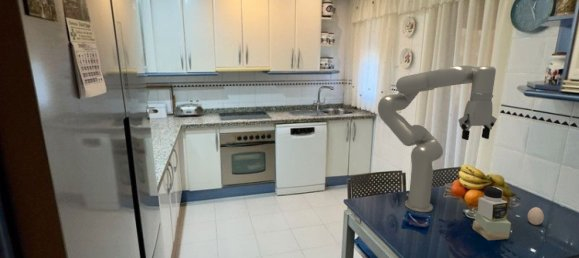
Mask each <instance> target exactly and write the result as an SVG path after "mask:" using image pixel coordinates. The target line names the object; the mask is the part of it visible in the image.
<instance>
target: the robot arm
mask: <svg viewBox="0 0 579 258" xmlns="http://www.w3.org/2000/svg"><path fill="white" fill-rule="evenodd" d="M496 74H497V70H496V67H494V66H481V65H480V66H473V65H472V66H471V65H454V66H448V67H444V68H439V69H435V70H428V71H423V72H420V73H418V72H417V73H414V74H408V75H405V76H401V77H400V78H398V79H397V81H396V83H395V87H396V90H397V91H398V93H397V94H388V95H385V96H383V97H382V98H381V99H380V100H379V102H378V105H377V113H378V115H379V117H380V119H381V121H383V123H384V124H385V125H386V126H387V127H388V128H389V129H390V131H391V132H392V133H393V134H394V135H395V136H396V138H397V139H398V140H399V141H400V142H401V143H402V144H403V146H405V147H411V146H415V147H414V148H412V150H411V152H410V160H411V173H410V183H409V191H408V193H406V194H405V196H406V197H407V200H405V202H404V206H405V207H406V208H408V209H409V210H411V211H414V212H418V213H428V212H431V211H433V209H434V205H432V204H431V195H432V185H433V176H434V168H433V162H434V161H437V160H440V158H441V157H442V156H443V154H444V148H443V146H442V145H441V143H440V142H439V141H438V140H437V139H436V138H435V137H434V136H433V134H432V133H431V132H430V131H429V130H428V129H427V128H425V126H423V125H420V124H412V125H411V124H410V123H409V122H408V121H407V119H406V118H405V117H404V116H402V115H401V114H400V113H398V112H399V111H402V110H403V111H404V110H406V108H407V107H409V106H410V104H411V103H412V102H413V101H414V99H415V98H416V97H417V96H418V95H419V93H420V92H428V91H433V90H435V89H438V88H443V87H449V86H456V85H466V84H471V89H470V95H469V96H470V97H469V100H467V103H466V105H465V108H464V112H463V116H462V117H461V118H459V119H458V123H459V127H460V128H461V130H462V133H461V139H462V140H465V141H469V139H470V129H471V128H472V127H477V126H479V127H480V126H482V127H483V128H482V131H481V138H482V139H486V140H489V139H490V136H491V135H490V134H491V130H492V129H493V127H494V126H495V123H496V122H497V119H498V118H496V117H494V116H493V107H494V106H493V101H492V99H493V98H494V95H493V93H494V87H495V80H496Z"/></svg>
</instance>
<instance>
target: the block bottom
mask: <svg viewBox="0 0 579 258" xmlns="http://www.w3.org/2000/svg"><path fill="white" fill-rule="evenodd" d="M472 229H473V230H474V232H476V233H478V234H479V235H481V236H482V237H483V238H485V239H486V240H487V241H496V240H497V241H499V240H505V239H506V240H508V239H509V237H510V233H511V232H510V233H506V232H490V231H485V230H484V229H483V228H482V227H481V226H480V225H479V224H478V223H477V222H476V221H475V220H473V222H472Z"/></svg>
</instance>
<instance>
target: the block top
mask: <svg viewBox="0 0 579 258" xmlns="http://www.w3.org/2000/svg"><path fill="white" fill-rule="evenodd" d="M474 221H476V222H477V223H478V224H479V225H480V226H481V227H482V228H483V229H484V230H485V231H490V232H506V233H511V226H512V223H511V222H510V221H509V220H508V219H507V217H506V218H505V219H499V220H493V221H492V220H490V219H488V218H486V217H484V216H481V215H479V214H478V210H477V211H475V217H474Z"/></svg>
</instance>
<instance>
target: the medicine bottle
mask: <svg viewBox="0 0 579 258" xmlns="http://www.w3.org/2000/svg"><path fill="white" fill-rule="evenodd" d="M483 194H484V195H483V196H482V197H478V200H477V201H478V205H477V211H478V214H479V215H481V216H484V217H486V218H488V219H490V220H492V221H493V220H499V219H505V218H506V219H507V213H508V212H507V211H508V201H507V200H504V199H503V189H502V188H499V187H498V186H486V187H485V188H484V193H483Z"/></svg>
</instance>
